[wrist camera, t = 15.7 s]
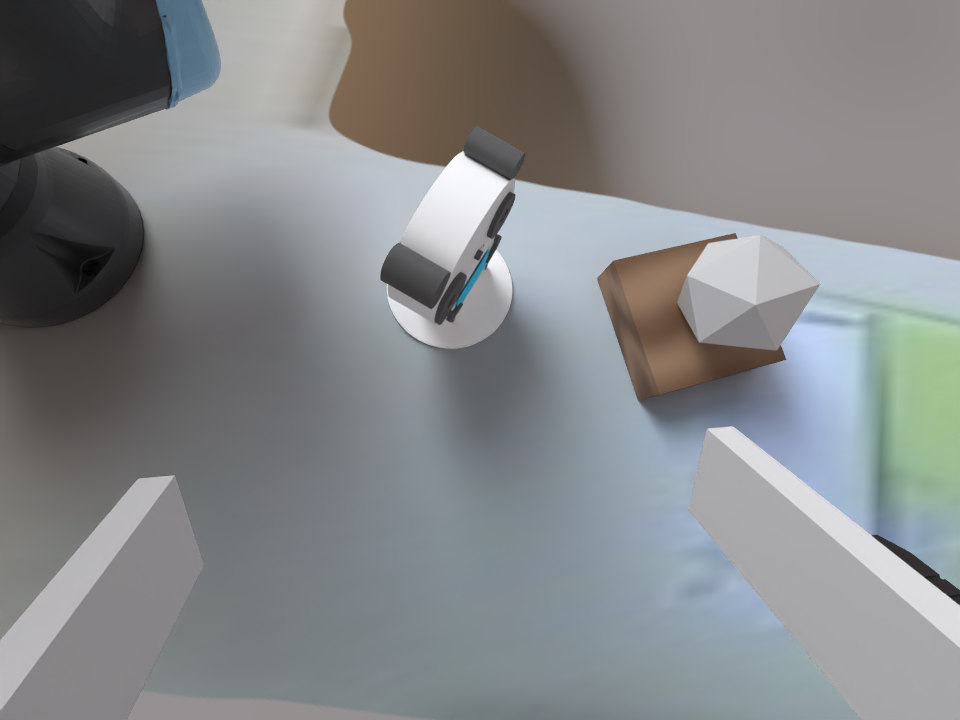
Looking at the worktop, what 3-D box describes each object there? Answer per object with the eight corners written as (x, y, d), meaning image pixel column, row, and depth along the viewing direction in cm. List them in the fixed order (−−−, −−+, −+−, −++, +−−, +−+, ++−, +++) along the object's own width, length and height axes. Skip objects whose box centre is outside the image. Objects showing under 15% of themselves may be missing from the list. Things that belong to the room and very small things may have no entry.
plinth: (597, 278, 43) (613, 260, 39) (709, 252, 45) (735, 233, 41) (638, 400, 41) (659, 394, 37) (754, 368, 43) (786, 359, 39)
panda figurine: (469, 378, 40) (489, 333, 25) (358, 313, 40) (314, 232, 26) (533, 270, 43) (584, 173, 28) (428, 210, 43) (426, 82, 28)
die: (774, 315, 40) (818, 208, 34) (791, 387, 34) (848, 274, 28) (671, 307, 43) (693, 205, 36) (670, 372, 37) (695, 265, 30)
